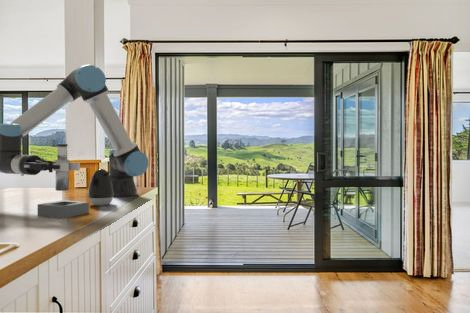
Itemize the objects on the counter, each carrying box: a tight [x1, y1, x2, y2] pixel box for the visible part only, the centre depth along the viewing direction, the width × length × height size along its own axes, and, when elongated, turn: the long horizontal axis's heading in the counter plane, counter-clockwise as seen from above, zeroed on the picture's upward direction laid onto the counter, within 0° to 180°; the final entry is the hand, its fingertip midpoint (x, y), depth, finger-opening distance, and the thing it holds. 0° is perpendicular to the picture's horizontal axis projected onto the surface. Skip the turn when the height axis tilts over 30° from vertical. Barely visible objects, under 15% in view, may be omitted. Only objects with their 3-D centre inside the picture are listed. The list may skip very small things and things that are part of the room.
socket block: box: [37, 199, 90, 219], centre depth 136 cm, size 12×12×4 cm
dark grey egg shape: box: [87, 168, 114, 207], centre depth 157 cm, size 10×10×15 cm
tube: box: [55, 143, 70, 192], centre depth 135 cm, size 4×4×17 cm
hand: (73, 167), depth 133 cm, fingers closed on tube, 4 cm apart
